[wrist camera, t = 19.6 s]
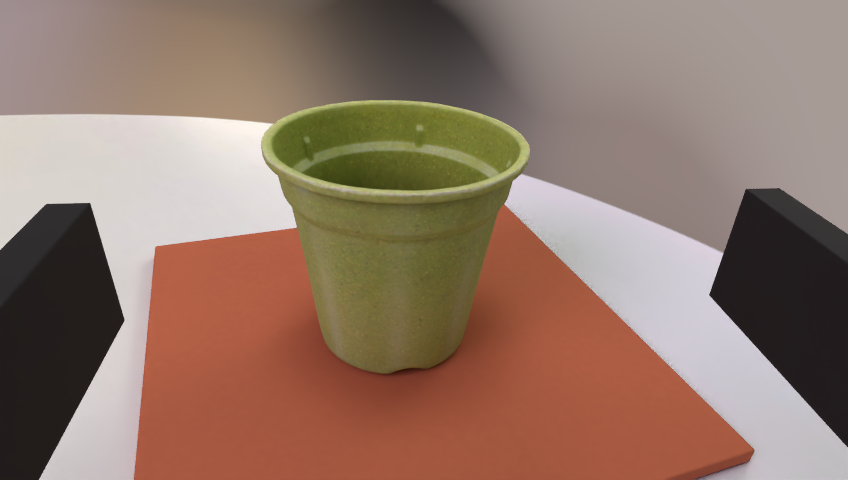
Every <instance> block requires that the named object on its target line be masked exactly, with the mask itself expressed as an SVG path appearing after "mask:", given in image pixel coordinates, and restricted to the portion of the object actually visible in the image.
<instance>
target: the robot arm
mask: <svg viewBox="0 0 848 480" xmlns="http://www.w3.org/2000/svg"><path fill="white" fill-rule="evenodd" d="M709 295H710V296H711V298H712V299H713V300H714V301H715V302H716V303H717V304H718V305H719V306H720V307H721V309H722V310H723V311H724V312H725V313H726V314H727V315H728V316H729V317H730V318H731V320H732V321H733V322H734V323H735V324H736V325H737V326H738V327H739V328H740V329H741V331H742V332H743V333H744V334H745V335H746V336H747V337H748V338H749V339H750V340H751V342H752V343H753V344H754V345H755V346H756V347H757V348H758V349H759V350H760V351H761V353H762V354H763V355H764V356H765V357H766V358H767V359H768V360H769V361H770V362H771V364H772V365H773V366H774V367H775V368H776V369H777V370H778V371H779V372H780V373H781V375H782V376H783V377H784V378H785V379H786V380H787V381H788V382H789V383H790V384H791V386H792V387H793V388H794V389H795V390H796V391H797V392H798V393H799V394H800V395H801V397H802V398H803V399H804V400H805V401H806V402H807V403H808V404H809V405H810V406H811V407H812V409H813V410H814V411H815V412H816V413H817V414H818V415H819V416H820V417H821V418H822V420H823V421H824V422H825V423H826V424H827V425H828V426H829V427H830V428H831V429H832V431H833V432H834V433H835V434H836V435H837V436H838V437H839V438H840V439H841V440H842V442H843V443H844V444H845V445H846V446H847V447H848V234H847V233H845V232H844V231H842V230H840V229H839V228H838V227H836V226H835V225H833V224H832V223H830V222H829V221H827V220H826V219H824V218H823V217H821V216H820V215H818V214H817V213H815V212H814V211H812V210H811V209H809V208H808V207H806V206H805V205H803V204H802V203H800V202H799V201H797V200H796V199H794V198H793V197H791V196H790V195H788V194H787V193H785V192H784V191H782V190H781V189H779V188H777V189H746V190H745V193H744V196H743V199H742V202H741V205H740V208H739V211H738V213H737V216H736V219H735V222H734V225H733V228H732V231H731V234H730V237H729V239H728V243H727V246H726V249H725V251H724V254H723V257H722V260H721V263H720V266H719V268H718V271H717V274H716V277H715V280H714V283H713V286H712V289H711V292H710V294H709ZM123 322H124V316H123V313H122V310H121V306H120V303H119V299H118V296H117V293H116V289H115V286H114V283H113V279H112V276H111V272H110V269H109V266H108V262H107V259H106V255H105V252H104V249H103V245H102V242H101V238H100V235H99V232H98V228H97V225H96V221H95V218H94V215H93V211H92V208H91V204H90V203H73V204H46V205H45V206H44V207H43V208H42V209H41V210H40V211H39V212H38V213H37V214H36V215H35V216H34V217H33V218H32V219H31V220H30V221H29V222H28V223H27V224H26V225H25V226H24V227H23V228H22V229H21V230H20V231H19V232H18V233H17V234H16V235H15V236H14V237H13V238H12V239H11V240H10V241H9V242H8V243H7V244H6V245H5V246H4V247H3V248H2V249H1V250H0V480H39V478H40V476H41V475H42V473H43V471H44V469H45V467H46V465H47V463H48V462H49V460H50V458H51V456H52V454H53V452H54V450H55V449H56V447H57V445H58V443H59V441H60V439H61V437H62V436H63V434H64V432H65V430H66V428H67V426H68V424H69V423H70V421H71V419H72V417H73V415H74V413H75V411H76V410H77V408H78V406H79V404H80V402H81V400H82V398H83V397H84V395H85V393H86V391H87V389H88V387H89V385H90V384H91V382H92V380H93V378H94V376H95V374H96V372H97V371H98V369H99V367H100V365H101V363H102V361H103V359H104V357H105V356H106V354H107V352H108V350H109V348H110V346H111V344H112V343H113V341H114V339H115V337H116V335H117V333H118V331H119V330H120V328H121V326H122V324H123Z"/></svg>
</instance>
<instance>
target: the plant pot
mask: <svg viewBox="0 0 848 480" xmlns="http://www.w3.org/2000/svg"><path fill="white" fill-rule="evenodd" d="M261 148H262V154H263V158H264V160H265V162H266V164H267V165H268V166H269V168H270V169H271V170H272V171H273V172H274V173H275V174H277V175H278V177H279V181H280V184H281V188H282V191H283V194H284V196H285V198H286V199H287V201H288V203H289V204H290V205H291V206H292V209H293V213H294V217H295V221H296V225H297V229H298V233H299V237H300V241H301V245H302V249H303V253H304V257H305V261H306V265H307V270H308V275H309V279H310V284H311V288H312V293H313V297H314V302H315V306H316V311H317V315H318V320H319V324H320V328H321V331H322V335H323V337H324V340H325V342H326V344H327V346H328V348H329V349H330V350H331V351H332V352H333V353H334V354H335V355H336V356H337V357H338V358H340V359H341V360H343V361H344V362H346V363H348V364H350V365H352V366H354V367H357V368H359V369H362V370H366V371H370V372H375V373H381V374H390V373H393V372H395V371H398V370H401V369H406V368H423V369H428V368H430V367H433V366H435V365H437V364H439V363H441V362H443V361H444V360H446V359H447V358H448V357H449V356H451V355H452V354H453V353H454V352H455V351H456V349H457V348H458V347H459V345H460V343H461V341H462V338H463V336H464V332H465V329H466V325H467V322H468V318H469V314H470V310H471V307H472V303H473V299H474V296H475V292H476V288H477V285H478V281H479V278H480V274H481V270H482V267H483V263H484V259H485V256H486V252H487V249H488V245H489V242H490V239H491V235H492V232H493V228H494V225H495V222H496V218H497V215H498V211H499V209H500V208H501V207H502V206H503V205H504V203H505V202H506V200H507V198H508V195H509V192H510V188H511V185H512V181H513V180H514V179H516V178H517V177H518V176H519V175H520V174H521V173H522V172H523V170H524V169H525V167H526V166H527V163H528V160H529V155H530V147H529V145H528V143H527V142H526V140H525V139H524V137H523V136H522V135H521V134H520V133H519V132H517V131H516V130H515V129H513V128H512V127H511V126H509V125H507V124H505V123H503V122H501V121H498V120H496V119H494V118H491V117H489V116H485V115H483V114H480V113H477V112H473V111H469V110H465V109H461V108H456V107H451V106H447V105H441V104H436V103H428V102H414V101H400V100H386V101H381V100H368V101H353V102H344V103H337V104H330V105H325V106H320V107H315V108H310V109H306V110H302V111H300V112H296V113H294V114H291V115H288V116H286V117H284V118H282V119H280V120H279V121H277V122H276V123H274V124H273V125H272V126H271V127H270V128H269V129H268V130H267V131H266V132H265V133H264V136H263V138H262V141H261Z"/></svg>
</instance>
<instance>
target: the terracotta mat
mask: <svg viewBox="0 0 848 480" xmlns="http://www.w3.org/2000/svg"><path fill="white" fill-rule="evenodd" d="M753 453H754V449H753V448H752V447H751V446H750V445H749V444H748V443H747V442H746V441H745V440H744V439H743V438H742V437H741V436H740V435H739V434H738V433H737V432H736V431H735V430H734V429H733V428H732V427H731V426H730V425H729V424H728V423H727V422H726V421H725V420H724V419H723V418H722V417H721V416H720V415H719V414H718V413H717V412H715V411H714V410H713V409H712V408H711V407H710V406H709V405H708V404H707V403H706V402H705V401H704V400H703V399H702V398H701V397H700V396H699V395H698V394H697V393H696V392H695V391H694V390H693V389H692V388H691V387H690V386H689V385H688V384H687V383H686V382H685V381H684V380H683V379H682V378H681V377H680V376H679V375H678V374H677V373H676V372H675V371H674V370H673V369H672V368H671V367H670V366H669V365H668V364H667V363H666V362H664V361H663V360H662V359H661V358H660V357H659V356H658V355H657V354H656V353H655V352H654V351H653V350H652V349H651V348H650V347H649V346H648V345H647V344H646V343H645V342H644V341H643V340H642V339H641V338H640V337H639V336H638V335H637V334H636V333H635V332H634V331H633V330H632V329H631V328H630V327H629V326H628V325H627V324H626V323H625V322H624V321H623V320H622V319H621V318H620V317H619V316H618V315H617V314H616V313H615V312H613V311H612V310H611V309H610V308H609V307H608V306H607V305H606V304H605V303H604V302H603V301H602V300H601V299H600V298H599V297H598V296H597V295H596V294H595V293H594V292H593V291H592V290H591V289H590V288H589V287H588V286H587V285H586V284H585V283H584V282H583V281H582V280H581V279H580V278H579V277H578V276H577V275H576V274H575V273H574V272H573V271H572V270H571V269H570V268H569V267H568V266H567V265H566V264H565V263H564V262H563V261H561V260H560V259H559V258H558V257H557V256H556V255H555V254H554V253H553V252H552V251H551V250H550V249H549V248H548V247H547V246H546V245H545V244H544V243H543V242H542V241H541V240H540V239H539V238H538V237H537V236H536V235H535V234H534V233H533V232H532V231H531V230H530V229H529V228H528V227H527V226H526V225H525V224H524V223H523V222H522V221H521V220H520V219H519V218H518V217H517V216H516V215H515V214H514V213H513V212H512V211H510V210H509V209H508V208H507V207H506V206H505V205H503V206H502V207H501V208H500V209H499V211H498V215H497V218H496V222H495V225H494V228H493V232H492V235H491V239H490V242H489V245H488V249H487V252H486V256H485V259H484V263H483V267H482V270H481V274H480V278H479V281H478V285H477V288H476V292H475V296H474V299H473V303H472V307H471V310H470V314H469V318H468V322H467V325H466V329H465V332H464V336H463V338H462V341H461V343H460V345H459V347H458V348H457V349H456V351H455V352H454V353H453V354H452V355H451V356H449V357H448V358H447V359H446V360H444V361H443V362H441V363H439V364H437V365H435V366H433V367H430V368H428V369H423V368H406V369H401V370H398V371H395V372H393V373H390V374H381V373H375V372H370V371H366V370H362V369H359V368H357V367H354V366H352V365H350V364H348V363H346V362H344V361H343V360H341V359H340V358H338V357H337V356H336V355H335V354H334V353H333V352H332V351H331V350H330V349H329V348H328V346H327V344H326V342H325V340H324V337H323V335H322V331H321V328H320V324H319V320H318V315H317V311H316V306H315V302H314V297H313V293H312V288H311V284H310V279H309V275H308V270H307V265H306V261H305V257H304V253H303V249H302V245H301V241H300V237H299V233H298V229H297V228H293V229H285V230H278V231H270V232H262V233H255V234H247V235H240V236H232V237H224V238H217V239H209V240H202V241H194V242H186V243H179V244H171V245H164V246H156V247H155V256H154V267H153V278H152V289H151V300H150V311H149V322H148V333H147V343H146V354H145V365H144V376H143V387H142V398H141V409H140V420H139V431H138V442H137V453H136V463H135V474H134V480H693V479H696V478H699V477H702V476H705V475H708V474H711V473H714V472H717V471H720V470H723V469H727V468H730V467H733V466H736V465H739V464H742V463H745V462H748V461H750V459H751V457H752V455H753Z"/></svg>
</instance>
